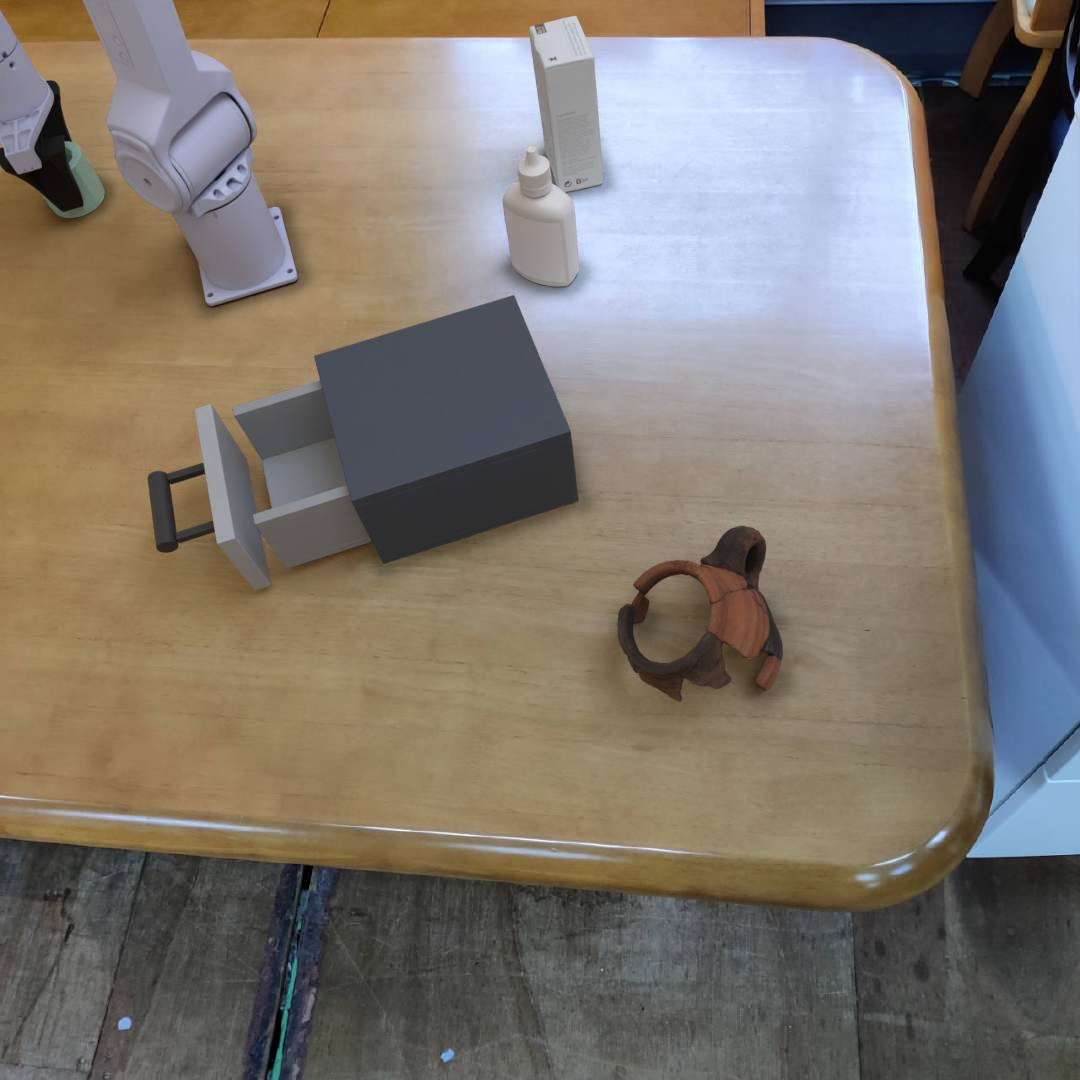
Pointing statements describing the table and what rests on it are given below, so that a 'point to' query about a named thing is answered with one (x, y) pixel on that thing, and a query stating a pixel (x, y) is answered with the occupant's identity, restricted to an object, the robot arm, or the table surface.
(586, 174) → the cosmetic box
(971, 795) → the table surface
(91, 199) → the jar
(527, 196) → the eye dropper bottle
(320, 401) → the drawer
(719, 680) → the pottery mug
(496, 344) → the cabinet
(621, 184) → the table surface
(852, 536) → the table surface
